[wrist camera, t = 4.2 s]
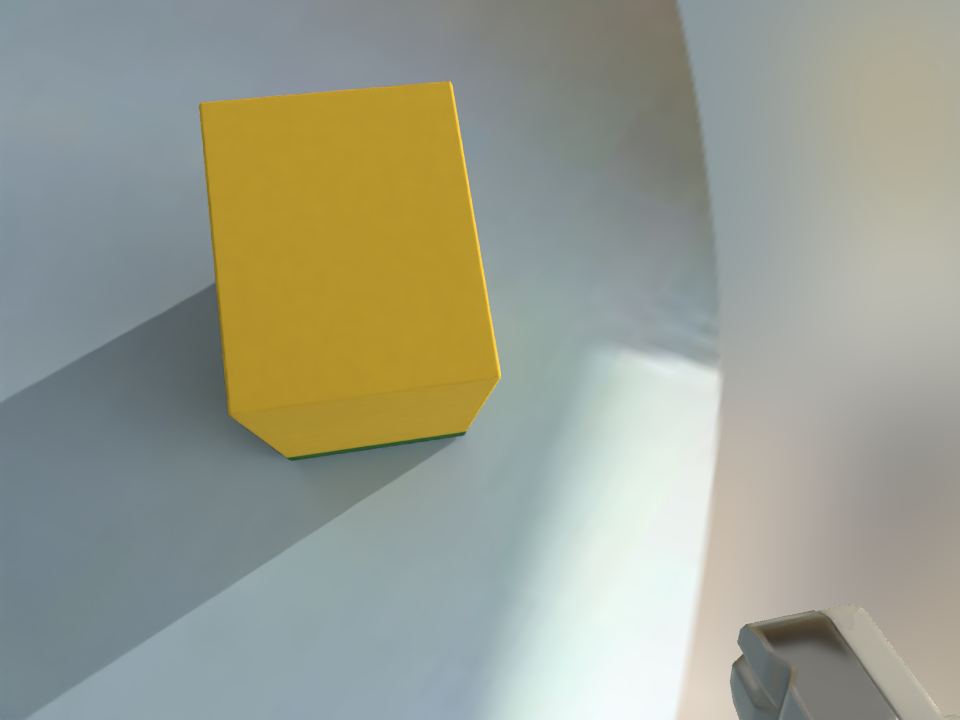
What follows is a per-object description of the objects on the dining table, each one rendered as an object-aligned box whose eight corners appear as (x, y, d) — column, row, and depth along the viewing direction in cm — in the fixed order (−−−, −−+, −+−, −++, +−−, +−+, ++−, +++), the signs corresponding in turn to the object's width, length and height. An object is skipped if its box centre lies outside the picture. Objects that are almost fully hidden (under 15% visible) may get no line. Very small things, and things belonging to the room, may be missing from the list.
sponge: (464, 435, 22) (501, 378, 14) (289, 461, 21) (227, 416, 13) (433, 233, 23) (451, 79, 15) (266, 252, 22) (198, 101, 15)
